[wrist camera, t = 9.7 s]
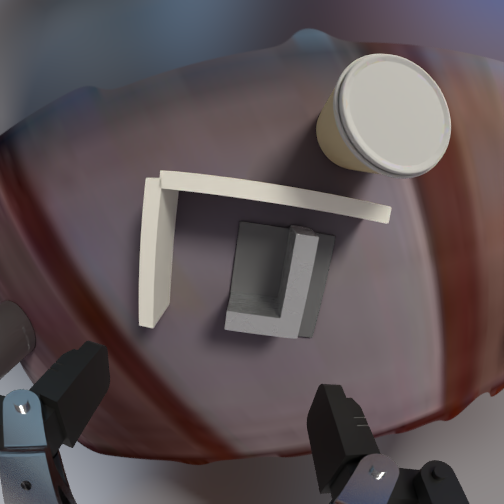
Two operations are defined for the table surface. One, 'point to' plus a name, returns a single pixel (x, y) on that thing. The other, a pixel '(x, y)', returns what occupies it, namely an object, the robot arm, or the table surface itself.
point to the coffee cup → (385, 118)
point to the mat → (277, 267)
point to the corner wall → (170, 182)
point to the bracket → (289, 297)
